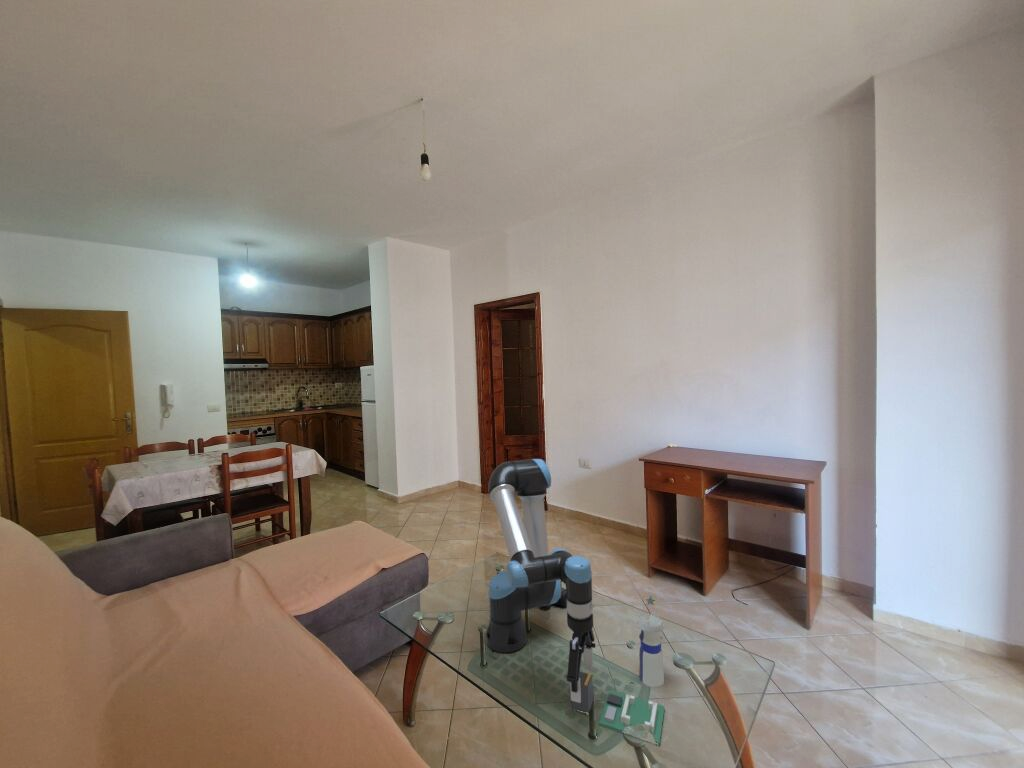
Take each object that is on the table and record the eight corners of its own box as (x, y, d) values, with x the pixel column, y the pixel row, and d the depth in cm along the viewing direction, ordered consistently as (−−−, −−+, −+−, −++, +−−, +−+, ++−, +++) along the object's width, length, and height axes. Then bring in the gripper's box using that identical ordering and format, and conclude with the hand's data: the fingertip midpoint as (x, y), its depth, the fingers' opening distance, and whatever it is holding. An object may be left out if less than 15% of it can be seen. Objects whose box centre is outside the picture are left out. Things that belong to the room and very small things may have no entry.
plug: (572, 711, 122) (571, 680, 121) (577, 699, 126) (576, 669, 126) (588, 717, 120) (587, 685, 119) (593, 704, 124) (592, 673, 124)
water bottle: (633, 670, 138) (631, 595, 137) (658, 667, 138) (656, 593, 137) (642, 689, 129) (640, 610, 128) (669, 686, 130) (667, 608, 129)
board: (599, 726, 116) (598, 715, 116) (609, 693, 128) (609, 683, 128) (659, 747, 109) (659, 735, 109) (664, 710, 121) (664, 699, 121)
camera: (558, 617, 168) (557, 593, 168) (536, 609, 174) (535, 586, 174) (575, 599, 181) (575, 576, 181) (555, 592, 187) (554, 570, 187)
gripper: (580, 640, 109) (583, 720, 109) (602, 594, 132) (605, 660, 132) (553, 634, 112) (556, 711, 113) (579, 589, 135) (582, 654, 135)
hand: (582, 684), depth 122 cm, fingers open, 13 cm apart
